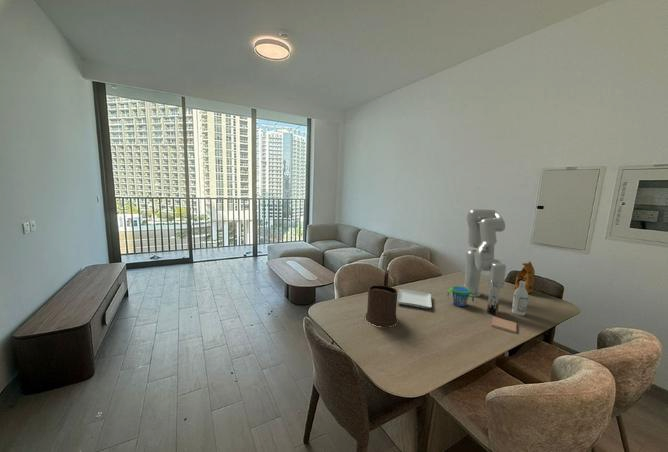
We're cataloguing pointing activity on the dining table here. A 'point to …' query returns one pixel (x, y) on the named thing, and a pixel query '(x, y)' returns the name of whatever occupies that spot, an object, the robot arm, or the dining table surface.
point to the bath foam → (520, 299)
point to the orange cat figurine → (526, 277)
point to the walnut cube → (496, 308)
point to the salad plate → (414, 298)
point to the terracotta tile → (504, 324)
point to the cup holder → (382, 304)
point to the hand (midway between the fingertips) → (492, 311)
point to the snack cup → (460, 295)
